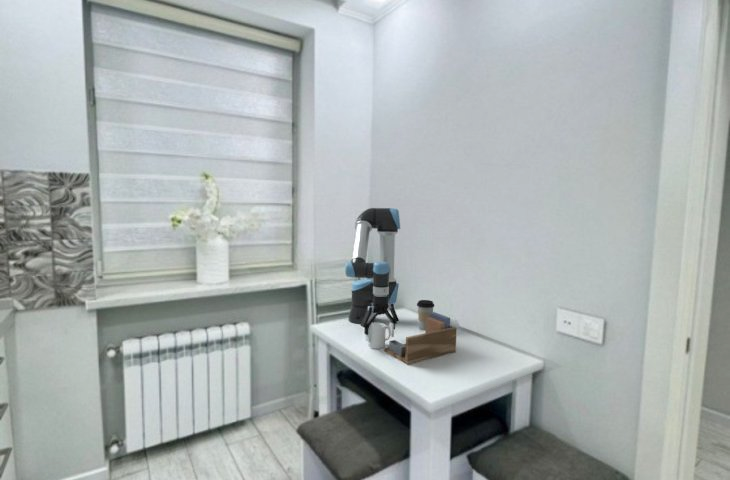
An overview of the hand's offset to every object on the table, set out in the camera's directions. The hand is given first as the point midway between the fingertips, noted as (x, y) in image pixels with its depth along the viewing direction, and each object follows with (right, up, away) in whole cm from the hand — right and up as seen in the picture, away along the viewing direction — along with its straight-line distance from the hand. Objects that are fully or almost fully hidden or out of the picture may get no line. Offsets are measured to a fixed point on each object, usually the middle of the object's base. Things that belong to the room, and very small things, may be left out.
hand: (379, 338), depth 186 cm
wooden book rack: (+18, -4, -7) cm, 20 cm away
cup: (0, -3, 0) cm, 4 cm away
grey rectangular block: (+7, -3, -13) cm, 15 cm away
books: (+27, -2, -2) cm, 27 cm away
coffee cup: (+25, -1, +26) cm, 36 cm away
